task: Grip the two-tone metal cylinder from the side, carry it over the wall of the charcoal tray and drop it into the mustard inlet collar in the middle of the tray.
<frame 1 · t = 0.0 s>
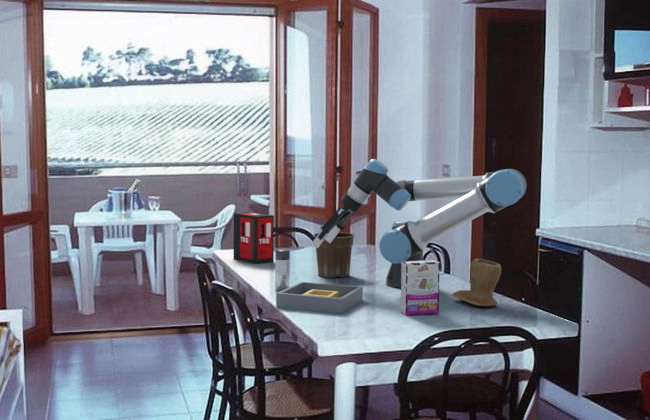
hand: (321, 243, 296), 15 cm above the table, tool tilted 35°, fingers open, 13 cm apart
walled tray: (320, 303, 265), on the table
plant pot: (333, 276, 318), on the table
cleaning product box: (253, 261, 350), on the table
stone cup: (478, 304, 269), on the table
two-tone metal cylinder: (282, 289, 287), on the table
candy bar box: (419, 314, 254), on the table
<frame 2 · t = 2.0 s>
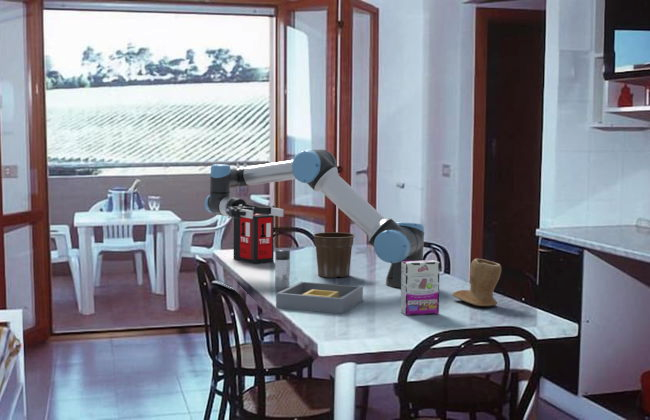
hand: (267, 213, 292), 26 cm above the table, tool horizontal, fingers open, 13 cm apart
nothing on the table moved.
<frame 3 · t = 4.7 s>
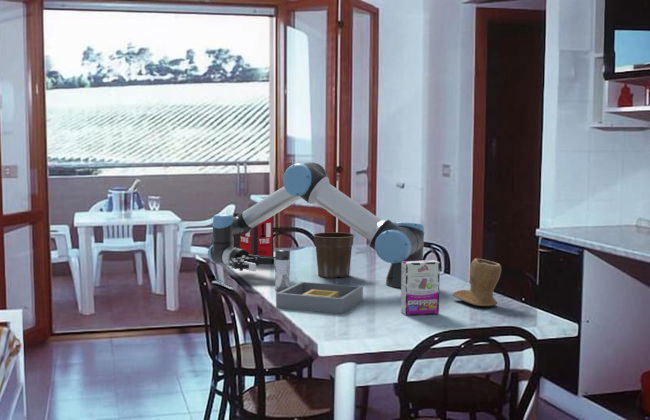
hand: (270, 265, 291), 8 cm above the table, tool horizontal, fingers open, 13 cm apart
nothing on the table moved.
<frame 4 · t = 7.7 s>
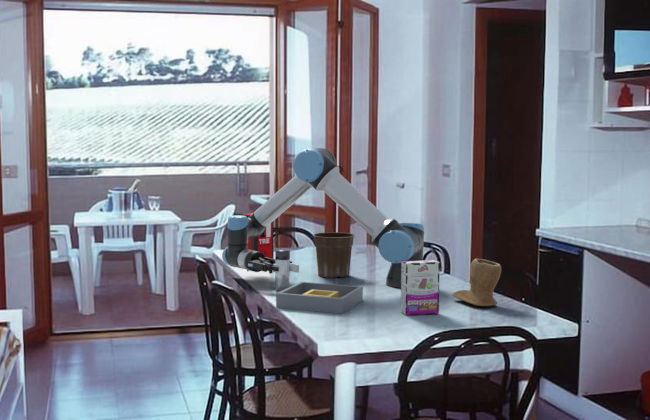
hand: (291, 269, 282), 8 cm above the table, tool horizontal, fingers closed on two-tone metal cylinder, 5 cm apart
two-tone metal cylinder: (282, 289, 287), on the table, touching gripper
everything else where it was.
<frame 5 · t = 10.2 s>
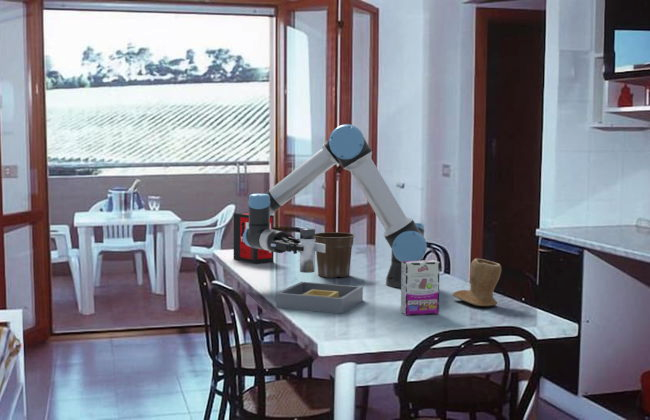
hand: (317, 249, 264), 18 cm above the table, tool horizontal, fingers closed on two-tone metal cylinder, 5 cm apart
two-tone metal cylinder: (307, 271, 269), point 10 cm above the table, touching gripper
everything else where it was.
when the fingers open (11 cm above the table, at t = 13.0 s): two-tone metal cylinder drops 2 cm, resting on walled tray.
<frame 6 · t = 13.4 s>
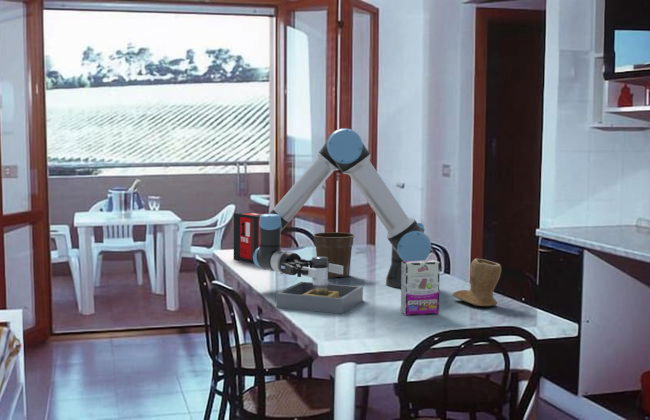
hand: (329, 271, 261), 11 cm above the table, tool horizontal, fingers open, 10 cm apart
two-tone metal cylinder: (320, 300, 265), point 1 cm above the table, touching walled tray
everything else where it was.
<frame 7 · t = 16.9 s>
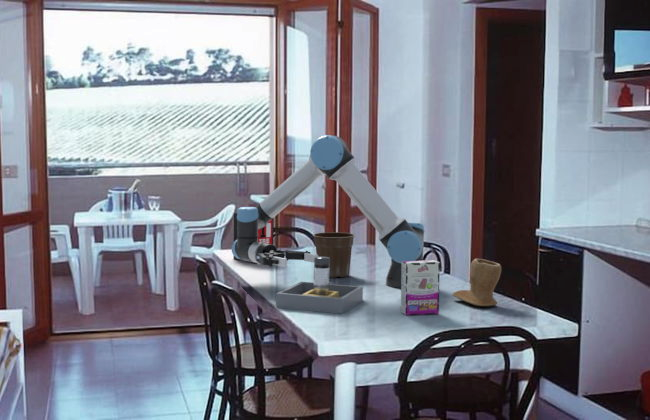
hand: (301, 261, 272), 13 cm above the table, tool horizontal, fingers open, 13 cm apart
nothing on the table moved.
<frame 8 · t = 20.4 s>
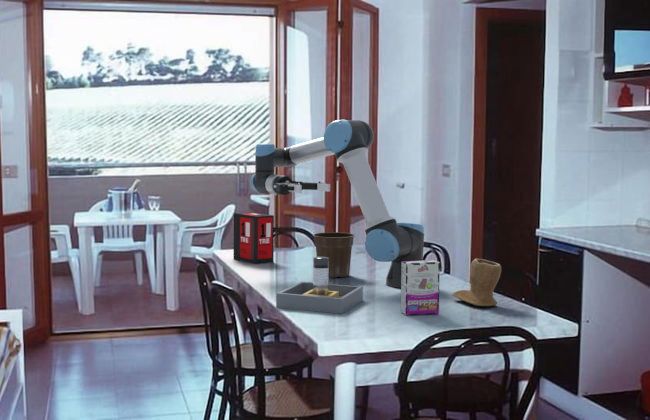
hand: (315, 188, 297), 35 cm above the table, tool horizontal, fingers open, 13 cm apart
nothing on the table moved.
at the end: two-tone metal cylinder 0.0 cm off-centre on the walled tray, point 1.0 cm above the walled tray's base; two-tone metal cylinder tilted 1°; the gripper is holding nothing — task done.
